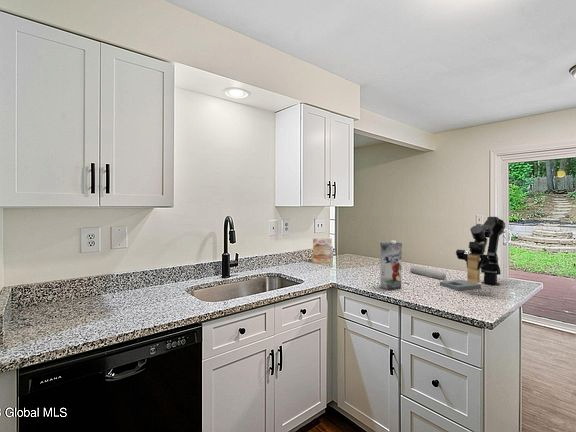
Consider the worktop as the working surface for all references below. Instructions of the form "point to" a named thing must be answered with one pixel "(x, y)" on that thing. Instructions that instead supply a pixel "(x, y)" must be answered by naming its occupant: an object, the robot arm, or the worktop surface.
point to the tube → (428, 272)
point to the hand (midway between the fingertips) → (472, 268)
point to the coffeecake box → (322, 250)
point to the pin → (473, 269)
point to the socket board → (460, 285)
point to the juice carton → (390, 265)
